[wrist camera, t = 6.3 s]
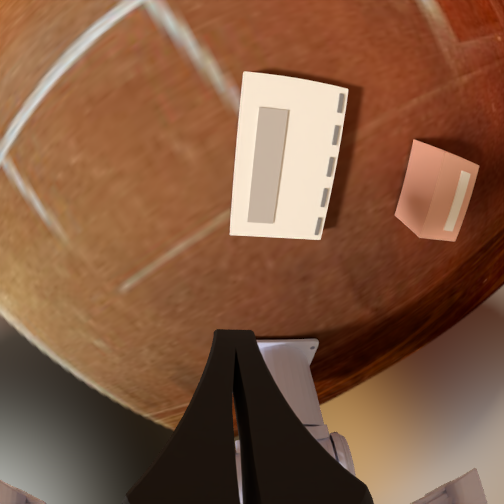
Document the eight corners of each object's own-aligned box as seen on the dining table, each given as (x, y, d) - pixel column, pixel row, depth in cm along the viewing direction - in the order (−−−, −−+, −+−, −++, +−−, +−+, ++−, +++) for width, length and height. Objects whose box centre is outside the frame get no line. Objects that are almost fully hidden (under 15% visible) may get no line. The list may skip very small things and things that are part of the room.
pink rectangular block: (430, 220, 19) (455, 242, 16) (394, 215, 19) (420, 238, 16) (449, 152, 16) (480, 166, 13) (413, 139, 16) (445, 151, 13)
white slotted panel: (316, 232, 19) (321, 240, 18) (229, 227, 18) (229, 236, 17) (342, 89, 14) (349, 89, 13) (243, 73, 13) (244, 71, 12)
